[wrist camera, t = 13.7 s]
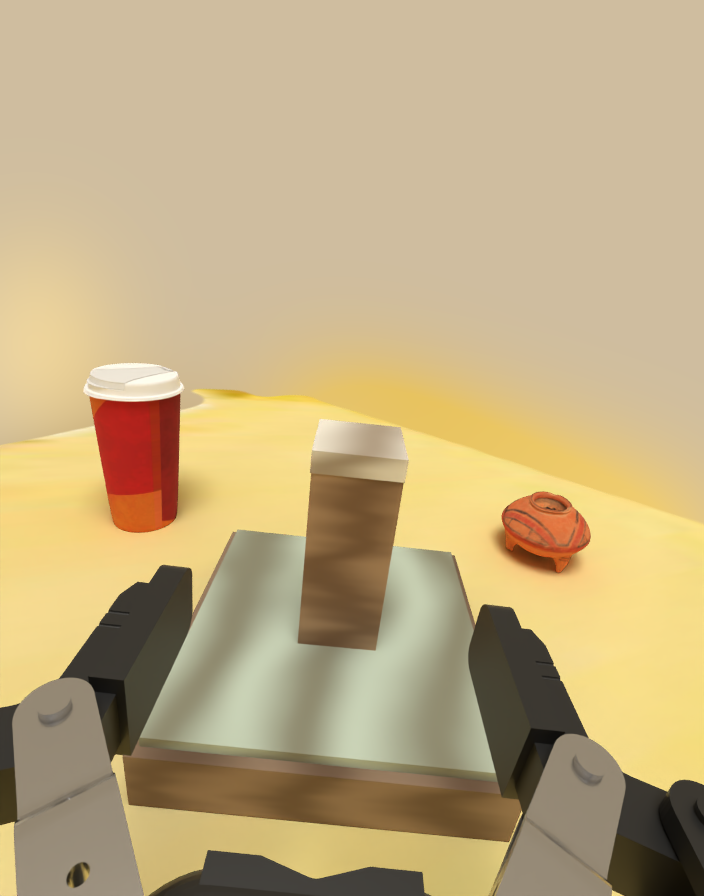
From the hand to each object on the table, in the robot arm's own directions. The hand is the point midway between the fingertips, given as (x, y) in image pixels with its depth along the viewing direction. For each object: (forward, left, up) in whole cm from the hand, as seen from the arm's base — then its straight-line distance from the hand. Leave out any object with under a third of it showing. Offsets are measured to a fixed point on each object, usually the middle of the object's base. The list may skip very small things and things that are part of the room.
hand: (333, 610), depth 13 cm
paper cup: (-18, +27, -16) cm, 37 cm away
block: (+1, +12, -12) cm, 17 cm away
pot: (+20, +28, -16) cm, 38 cm away
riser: (+1, +12, -16) cm, 20 cm away
